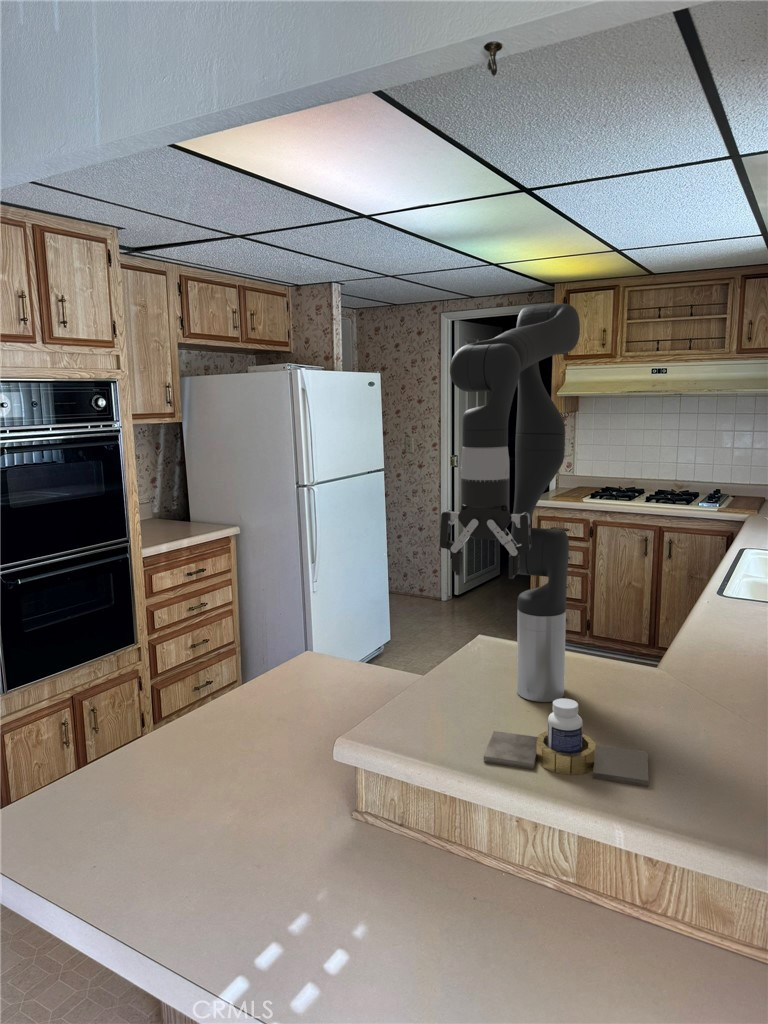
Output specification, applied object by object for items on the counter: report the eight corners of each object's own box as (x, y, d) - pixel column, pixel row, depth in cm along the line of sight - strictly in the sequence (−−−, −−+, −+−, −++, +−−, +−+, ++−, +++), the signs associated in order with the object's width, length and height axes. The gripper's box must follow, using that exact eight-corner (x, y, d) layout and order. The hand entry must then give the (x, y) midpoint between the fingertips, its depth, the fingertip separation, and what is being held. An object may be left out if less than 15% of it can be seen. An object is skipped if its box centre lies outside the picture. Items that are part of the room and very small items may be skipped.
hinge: (493, 736, 121) (493, 720, 121) (647, 757, 113) (647, 740, 112) (483, 761, 113) (483, 744, 112) (648, 786, 104) (649, 768, 104)
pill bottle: (588, 765, 111) (589, 707, 109) (558, 771, 109) (559, 712, 108) (570, 749, 116) (571, 694, 114) (541, 754, 114) (542, 698, 113)
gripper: (534, 473, 110) (533, 573, 112) (446, 472, 114) (447, 568, 117) (527, 478, 103) (526, 585, 105) (434, 477, 108) (435, 579, 110)
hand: (485, 576), depth 111 cm, fingers open, 8 cm apart
